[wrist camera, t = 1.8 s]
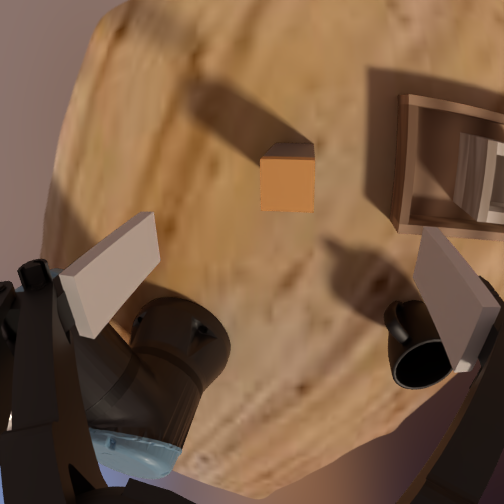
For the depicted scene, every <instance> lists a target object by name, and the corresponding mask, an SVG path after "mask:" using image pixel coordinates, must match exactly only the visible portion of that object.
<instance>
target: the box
mask: <svg viewBox="0 0 504 504" xmlns="http://www.w3.org/2000/svg"><path fill="white" fill-rule="evenodd" d="M390 221H391V223H392V224H393V226H394V228H395V229H396V231H397V233H401V234H415V235H422V232H423V226H427V227H437V228H438V229H439V230H440V231H441V232H442V233H443V234H444V235H445V237H456V238H469V239H481V240H492V241H504V114H500V113H497V112H493V111H489V110H485V109H481V108H477V107H473V106H469V105H465V104H460V103H456V102H451V101H446V100H441V99H435V98H430V97H424V96H418V95H412V94H404V95H398V123H397V146H396V162H395V175H394V186H393V196H392V205H391V214H390Z"/></svg>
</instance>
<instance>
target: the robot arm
mask: <svg viewBox="0 0 504 504" xmlns="http://www.w3.org/2000/svg"><path fill="white" fill-rule="evenodd" d="M159 262H160V254H159V247H158V240H157V233H156V226H155V218H154V212H140V213H138V214H137V215H135V216H134V217H133V218H131V219H130V220H129V221H127V222H126V223H124V224H123V225H122V226H120V227H119V228H118V229H116V230H115V231H114V232H112V233H111V234H110V235H108V236H107V237H106V238H104V239H103V240H102V241H100V242H99V243H98V244H96V245H95V246H94V247H92V248H91V249H90V250H89V251H87V252H86V253H85V254H84V255H82V256H81V257H79V258H78V259H77V260H75V261H74V262H73V263H72V264H70V265H69V266H68V267H67V268H66V269H64V270H63V269H59V268H54V269H50V270H49V266H48V263H47V260H45V259H36V260H32V261H29V262H27V263H25V264H23V265H22V266H21V267H20V268H19V269H18V271H17V272H18V275H19V277H20V280H21V283H22V285H21V286H20V287H18V288H17V289H14V287H13V284H12V282H10V281H4V282H0V465H1V477H2V488H3V497H4V504H196V503H194V502H192V501H189V500H187V499H186V498H184V497H182V496H180V495H178V494H176V493H174V492H172V491H170V490H166V489H163V488H160V487H156V486H153V485H149V484H146V483H143V482H140V481H137V480H134V479H132V478H129V480H128V483H127V485H126V487H108V485H107V484H106V482H105V480H104V479H103V476H102V474H101V472H100V469H99V465H98V462H99V463H100V464H103V465H104V466H107V467H109V468H111V469H113V470H116V471H119V472H121V473H124V474H127V475H131V476H135V477H139V478H145V479H159V478H163V477H165V476H167V475H168V474H169V473H170V472H171V471H172V469H173V467H174V465H175V462H176V460H177V458H178V456H179V455H180V454H181V453H182V448H183V445H184V442H185V440H186V437H187V434H188V431H189V429H190V426H191V423H192V420H193V418H194V415H195V412H196V409H197V407H198V404H199V401H200V398H201V396H202V393H203V392H204V391H205V389H206V388H207V387H208V386H209V385H210V384H211V383H212V382H213V381H214V380H215V379H216V378H217V377H218V376H219V375H220V374H221V372H222V371H223V370H224V368H225V366H226V364H227V361H228V358H229V355H230V350H231V345H230V340H229V337H228V334H227V332H226V330H225V329H224V327H223V326H222V324H221V323H220V322H219V321H218V320H217V319H216V318H215V317H214V316H213V315H212V314H211V313H210V312H208V311H207V310H205V309H204V308H202V307H201V306H199V305H197V304H195V303H192V302H190V301H187V300H183V299H179V298H159V299H156V300H153V301H151V302H149V303H148V304H146V305H145V306H144V307H143V308H142V310H141V311H140V312H139V314H138V315H137V316H136V318H135V320H134V323H133V326H132V331H131V335H130V340H129V345H128V344H127V343H126V342H125V341H124V340H123V339H122V337H121V336H120V335H119V334H118V333H117V332H116V331H115V329H114V328H113V327H112V326H111V325H110V324H109V321H110V319H111V318H112V317H113V316H114V315H115V313H116V312H117V311H118V310H119V309H120V307H121V306H122V305H123V304H124V303H125V301H126V300H127V299H128V298H129V297H130V296H131V294H132V293H133V292H134V291H135V290H136V288H137V287H138V286H139V285H140V284H141V283H142V282H143V280H144V279H145V278H146V277H147V276H148V275H149V273H150V272H151V271H152V270H153V269H154V268H155V267H156V266H157V264H158V263H159ZM413 279H414V281H415V283H416V285H417V287H418V289H419V291H420V293H421V296H422V298H423V300H424V302H425V304H426V306H427V308H428V311H429V313H430V315H431V317H432V320H433V322H434V324H435V326H436V329H437V331H438V333H439V336H440V338H441V341H442V343H443V346H444V348H445V350H446V353H447V356H448V358H449V361H450V363H451V366H452V368H453V371H454V372H467V371H472V369H473V367H474V365H475V363H476V361H477V359H479V361H480V364H481V368H480V370H479V372H478V373H477V376H476V377H475V379H474V381H473V382H472V384H471V386H470V390H469V392H468V394H467V396H466V398H465V400H464V402H463V404H462V406H461V408H460V409H459V411H458V413H457V415H456V416H455V418H454V420H453V422H452V423H451V425H450V427H449V428H448V430H447V432H446V434H445V435H444V437H443V438H442V440H441V442H440V443H439V445H438V446H437V448H436V449H435V451H434V452H433V454H432V456H431V457H430V458H429V460H428V461H427V463H426V464H425V466H424V467H423V469H422V470H421V471H420V473H419V474H418V475H417V477H416V478H415V479H414V481H413V482H412V483H411V485H410V486H409V487H408V489H407V490H406V491H405V492H404V494H403V495H402V496H401V497H400V499H399V500H398V501H397V502H396V504H478V502H479V500H480V498H481V496H482V494H483V492H484V490H485V488H486V486H487V484H488V482H489V480H490V478H491V476H492V473H493V471H494V469H495V467H496V465H497V462H498V460H499V458H500V455H501V453H502V450H503V448H504V302H503V300H502V299H501V297H499V295H498V293H497V292H496V291H494V288H493V287H492V286H491V284H490V283H489V282H488V281H486V280H485V279H484V278H482V277H481V276H478V275H477V274H476V273H475V271H474V270H473V269H472V268H471V266H470V265H469V264H468V263H467V261H466V260H465V259H464V258H463V257H462V255H461V254H460V253H459V252H458V251H457V249H456V248H455V247H454V246H453V245H452V243H451V242H450V241H449V240H448V239H447V238H446V237H445V235H444V234H443V233H442V232H441V231H440V230H439V229H438V228H437V227H427V226H423V232H422V237H421V242H420V247H419V252H418V257H417V262H416V266H415V270H414V275H413Z"/></svg>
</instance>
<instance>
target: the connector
mask: <svg viewBox="0 0 504 504" xmlns="http://www.w3.org/2000/svg"><path fill="white" fill-rule="evenodd" d="M260 182H261V211H286V212H310V213H314V184H315V154H314V144H305V143H275V144H274V145H273V146H272V147H271V148H270V149H269V150H268V151H267V152H266V153H265V154H264V155H263V156H262V158H261V159H260Z"/></svg>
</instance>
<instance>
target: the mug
mask: <svg viewBox="0 0 504 504" xmlns="http://www.w3.org/2000/svg"><path fill="white" fill-rule="evenodd" d="M384 321H385V325H386V327H387V329H388V331H389V336H388V357H389V362H390V367H391V372H392V376H393V379H394V381H395V382H396V383H397V384H398V385H399V386H401V387H403V388H406V389H423V388H427V387H430V386H432V385H434V384H436V383H438V382H440V381H441V380H443V379H444V378H445V377H446V376H448V375H449V374H450V372H451V371H452V370H453V368H452V366H451V363H450V361H449V358H448V356H447V353H446V350H445V348H444V346H443V343H442V341H441V338H440V336H439V333H438V331H437V329H436V326H435V324H434V322H433V320H432V317H431V315H430V313H429V311H428V308H427V306H426V305H425V304H424V303H423V302H421V301H417V300H412V301H407V302H404V303H401V302H400V301H395V302H393V303H392V304H391V305H390V306H389V307H388V308H387V310H386V312H385V314H384Z"/></svg>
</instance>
